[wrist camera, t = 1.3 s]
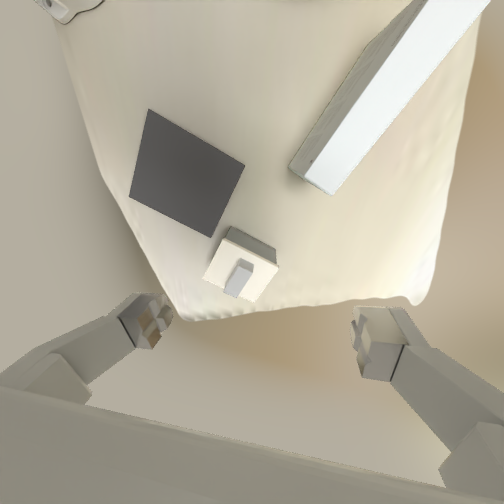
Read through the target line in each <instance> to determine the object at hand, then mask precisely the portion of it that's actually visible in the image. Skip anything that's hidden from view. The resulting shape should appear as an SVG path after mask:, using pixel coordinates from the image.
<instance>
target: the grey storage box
mask: <svg viewBox="0 0 504 504" xmlns="http://www.w3.org/2000/svg"><path fill="white" fill-rule="evenodd" d="M225 238H226V239H228V240H230V241H232V242H234V243H235V244H237V245H239V246H241V247H243V248H245V249H247V250H249V251H251V252H253V253H255V254H257V255H259V256H261V257H263V258H265V259H267V260H269V261H271V262H273V263H275V264H277V262H276V250H275V249H274V248H272V247H270V246H268V245H267V244H265V243H263V242H261V241H259V240H257V239H255V238H253V237H251V236H249V235H248V234H246V233H244V232H242V231H240V230H238V229H236V228H234V227H232V226H231V227H230V229H229V231H228V233H227V235H226V237H225Z"/></svg>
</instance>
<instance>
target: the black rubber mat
mask: <svg viewBox="0 0 504 504" xmlns="http://www.w3.org/2000/svg"><path fill="white" fill-rule="evenodd" d="M244 167H245V165H243V164H242V163H240V162H238V161H237V160H235V159H233V158H231V157H230V156H228V155H226V154H225V153H223V152H221V151H220V150H218V149H216V148H214V147H213V146H211V145H209V144H208V143H206V142H204V141H203V140H201V139H199V138H197V137H196V136H194V135H192V134H191V133H189V132H187V131H186V130H184V129H182V128H180V127H179V126H177V125H175V124H174V123H172V122H170V121H168V120H167V119H165V118H163V117H162V116H160V115H158V114H157V113H155V112H153V111H151V110H150V109H148V112H147V117H146V121H145V126H144V131H143V135H142V140H141V144H140V149H139V153H138V158H137V162H136V167H135V171H134V176H133V180H132V185H131V190H130V194H129V197H130V198H132V199H134V200H136V201H138V202H140V203H142V204H144V205H146V206H148V207H150V208H152V209H154V210H156V211H158V212H160V213H162V214H164V215H166V216H168V217H170V218H172V219H174V220H176V221H178V222H180V223H182V224H184V225H186V226H188V227H190V228H192V229H194V230H196V231H198V232H200V233H202V234H204V235H206V236H208V237H210V238H211V237H212V235H213V232H214V230H215V228H216V226H217V224H218V222H219V220H220V218H221V216H222V213H223V211H224V209H225V207H226V205H227V203H228V201H229V199H230V196H231V194H232V192H233V190H234V188H235V186H236V184H237V182H238V180H239V177H240V175H241V173H242V171H243V169H244Z"/></svg>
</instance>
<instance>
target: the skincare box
mask: <svg viewBox="0 0 504 504" xmlns="http://www.w3.org/2000/svg"><path fill="white" fill-rule="evenodd" d="M490 1H491V0H413V1H412V2H411V3H410V4H409V5H408V6H407V7H406V8H405V9H404V10H403V11H402V12H400V13H399V14H398V15H397V16H396V17H395V18H394V19H393V20H392V21H391V22H390V24H389V25H388V26H387V27H386V28H385V29H384V30H382V31H381V32H380V33H379V34H378V35H377V36H376V37H375V38H374V39H373V40H372V41H371V42H370V43H369V44H368V45H367V47H366V48H365V50H364V51H363V53H362V54H361V56H360V57H359V59H358V60H357V62H356V63H355V65H354V66H353V68H352V69H351V71H350V72H349V74H348V75H347V77H346V78H345V80H344V82H343V83H342V85H341V86H340V88H339V89H338V91H337V92H336V94H335V95H334V97H333V98H332V100H331V101H330V103H329V104H328V106H327V108H326V109H325V111H324V112H323V114H322V115H321V117H320V118H319V120H318V121H317V123H316V124H315V126H314V127H313V129H312V130H311V132H310V134H309V135H308V137H307V138H306V140H305V141H304V143H303V144H302V146H301V147H300V149H299V150H298V152H297V153H296V155H295V157H294V158H293V160H292V161H291V163H290V164H289V166H288V168H289V169H290V170H292V171H293V172H294V173H295V174H297V175H298V176H300V177H301V178H302V179H304V180H305V181H307V182H309V183H310V184H312V185H314V186H315V187H317V188H318V189H320V190H322V191H323V192H325V193H327V194H328V195H330V196H332V195H333V194H334V193H335V192H336V191H337V190H338V188H339V187H340V186H341V184H342V183H343V182H344V181H345V180H346V178H347V177H348V176H349V175H350V173H351V172H352V171H353V170H354V168H355V167H356V166H357V165H358V164H359V162H360V161H361V160H362V159H363V157H364V156H365V155H366V154H367V152H368V151H369V150H370V149H371V147H372V146H373V145H374V144H375V142H376V141H377V140H378V139H379V138H380V136H381V135H382V134H383V133H384V131H385V130H386V129H387V128H388V126H389V125H390V124H391V123H392V122H393V120H394V119H395V118H396V117H397V115H398V114H399V113H400V112H401V110H402V109H403V108H404V107H405V105H406V104H407V103H408V102H409V101H410V99H411V98H412V97H413V96H414V94H415V93H416V92H417V91H418V89H419V88H420V87H421V86H422V84H423V83H424V82H425V81H426V80H427V78H428V77H429V76H430V75H431V73H432V72H433V71H434V70H435V68H436V67H437V66H438V65H439V63H440V62H441V61H442V60H443V59H444V57H445V56H446V55H447V54H448V52H449V51H450V50H451V49H452V47H453V46H454V45H455V44H456V43H457V41H458V40H459V39H460V38H461V36H462V35H463V34H464V33H465V32H466V30H467V29H468V28H469V27H470V25H471V24H472V23H473V22H474V20H475V19H476V18H477V17H478V16H479V14H480V13H481V12H482V11H483V9H484V8H485V7H486V6H487V4H488V3H489V2H490Z"/></svg>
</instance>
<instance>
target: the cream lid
mask: <svg viewBox="0 0 504 504" xmlns="http://www.w3.org/2000/svg"><path fill="white" fill-rule="evenodd" d="M278 269H279V265H277V264H275V263H273V262H271V261H269V260H267V259H265V258H263V257H261V256H259V255H257V254H255V253H253V252H251V251H249V250H247V249H245V248H243V247H241V246H239V245H237V244H235V243H234V242H232V241H230V240H228V239H226V238H223V239H222V241H221V243H220V245H219V247H218V249H217V251H216V253H215V255H214V257H213V259H212V261H211V263H210V265H209V267H208V269H207V271H206V273H205V275H204V277H203V279H204V280H206V281H208V282H210V283H212V284H214V285H217V286H219V287H221V288H223V289H224V291H223V292H224V293H226V294H228V295H231V296H233V297H235V298H237V297H238V296H240V297H242V298H245V299H247V300H249V301H251V302H253V303H254V302H255V301H256V300H257V298H258V297H259V295H260V294H261V293H262V291H263V290H264V289H265V287H266V286H267V284H268V283H269V282H270V280H271V279H272V277H273V276H274V275H275V273H276V272H277V271H278Z"/></svg>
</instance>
